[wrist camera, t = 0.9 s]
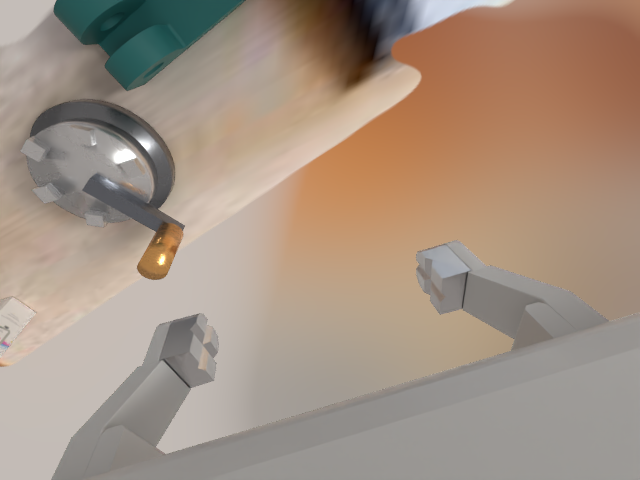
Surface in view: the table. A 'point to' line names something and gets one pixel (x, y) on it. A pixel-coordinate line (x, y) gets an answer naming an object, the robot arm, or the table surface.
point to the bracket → (141, 31)
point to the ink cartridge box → (12, 321)
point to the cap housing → (125, 122)
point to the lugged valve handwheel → (103, 182)
